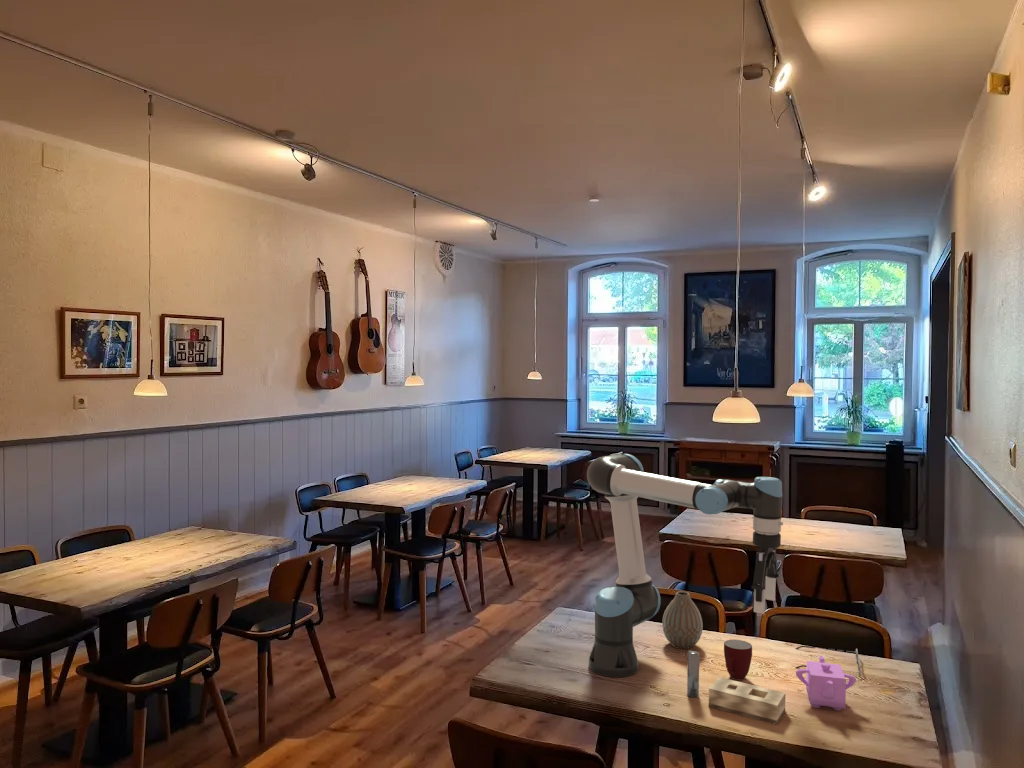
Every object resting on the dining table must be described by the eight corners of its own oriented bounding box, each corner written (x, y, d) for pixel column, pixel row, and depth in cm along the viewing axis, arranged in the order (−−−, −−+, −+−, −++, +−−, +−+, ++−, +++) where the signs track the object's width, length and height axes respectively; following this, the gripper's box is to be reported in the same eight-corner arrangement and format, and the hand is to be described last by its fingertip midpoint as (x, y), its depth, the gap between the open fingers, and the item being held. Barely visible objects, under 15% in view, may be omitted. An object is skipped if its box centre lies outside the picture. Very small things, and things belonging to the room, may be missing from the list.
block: (708, 706, 198) (708, 688, 198) (718, 694, 206) (719, 677, 206) (777, 724, 188) (777, 705, 188) (785, 711, 196) (785, 692, 196)
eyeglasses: (862, 679, 218) (861, 666, 218) (794, 671, 225) (794, 658, 225) (857, 658, 235) (857, 645, 235) (795, 651, 242) (794, 639, 242)
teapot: (866, 710, 197) (866, 670, 197) (830, 719, 191) (830, 678, 191) (820, 688, 211) (821, 650, 211) (786, 696, 205) (786, 658, 205)
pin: (685, 695, 205) (685, 653, 205) (689, 691, 208) (689, 649, 207) (696, 698, 203) (697, 655, 203) (700, 694, 206) (700, 652, 206)
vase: (706, 653, 237) (707, 599, 236) (666, 652, 237) (667, 599, 237) (697, 638, 250) (697, 587, 250) (658, 637, 250) (659, 587, 250)
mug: (745, 688, 210) (745, 654, 210) (717, 682, 214) (718, 648, 214) (754, 676, 219) (755, 643, 219) (727, 669, 223) (728, 637, 223)
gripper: (770, 542, 195) (768, 621, 195) (789, 526, 216) (787, 597, 216) (742, 538, 198) (739, 615, 199) (763, 522, 220) (761, 592, 220)
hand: (764, 606), depth 208 cm, fingers open, 13 cm apart
